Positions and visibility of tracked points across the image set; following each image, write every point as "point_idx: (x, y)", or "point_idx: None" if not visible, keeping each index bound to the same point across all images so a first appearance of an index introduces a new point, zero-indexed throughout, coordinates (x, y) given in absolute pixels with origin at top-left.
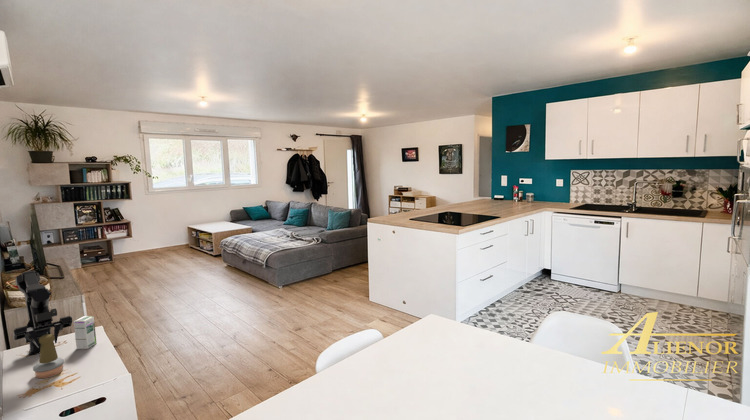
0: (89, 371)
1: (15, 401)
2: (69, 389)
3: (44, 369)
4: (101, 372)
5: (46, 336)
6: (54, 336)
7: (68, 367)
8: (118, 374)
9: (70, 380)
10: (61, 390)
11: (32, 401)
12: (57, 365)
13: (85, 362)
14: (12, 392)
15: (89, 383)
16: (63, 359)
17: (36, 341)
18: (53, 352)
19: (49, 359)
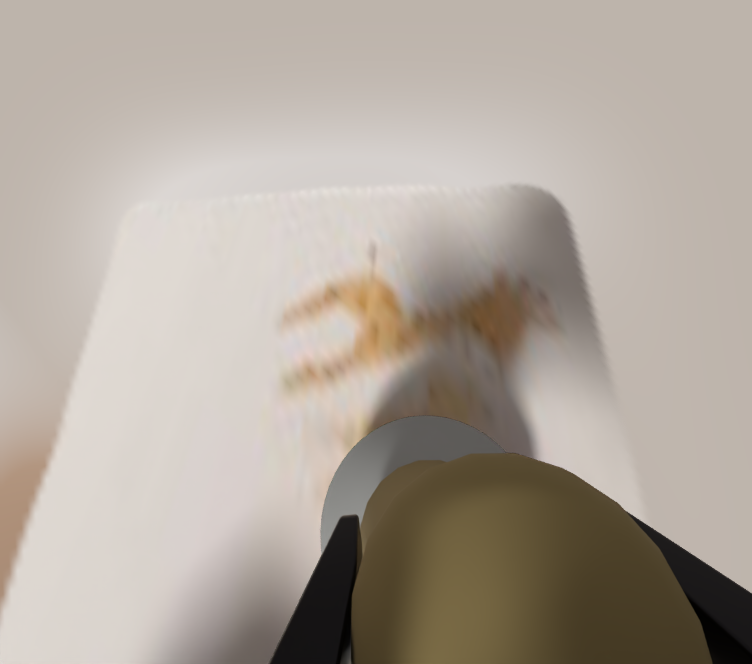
0: (229, 351)
1: (556, 267)
2: (347, 222)
3: (457, 423)
4: (189, 293)
5: (542, 565)
6: (354, 611)
7: (309, 521)
8: (144, 218)
9: (330, 310)
10: (377, 236)
11: (486, 220)
12: (374, 432)
13: (204, 523)
14: (594, 379)
15: (267, 219)
16: (323, 536)
17: (715, 586)
18: (394, 486)
19: (429, 461)
